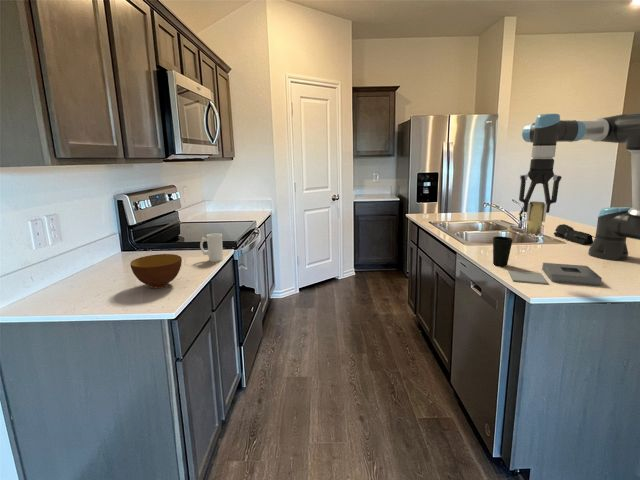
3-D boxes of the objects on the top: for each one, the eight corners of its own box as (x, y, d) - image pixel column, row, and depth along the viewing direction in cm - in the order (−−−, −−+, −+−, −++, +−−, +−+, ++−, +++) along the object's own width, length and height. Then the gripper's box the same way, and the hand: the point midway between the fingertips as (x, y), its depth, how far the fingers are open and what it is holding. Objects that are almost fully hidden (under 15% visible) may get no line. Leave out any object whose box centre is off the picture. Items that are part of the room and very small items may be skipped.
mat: (541, 274, 156) (541, 273, 156) (548, 284, 145) (548, 283, 145) (508, 272, 159) (508, 270, 159) (513, 281, 148) (513, 280, 148)
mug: (224, 257, 184) (222, 233, 181) (222, 261, 177) (221, 236, 174) (202, 258, 182) (200, 233, 180) (200, 262, 176) (198, 237, 173)
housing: (586, 272, 158) (587, 265, 157) (600, 285, 143) (601, 278, 142) (542, 269, 163) (542, 262, 162) (551, 281, 148) (552, 274, 147)
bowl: (122, 290, 141) (119, 264, 139) (158, 276, 157) (155, 252, 155) (160, 296, 135) (157, 269, 133) (193, 281, 151) (191, 256, 149)
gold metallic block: (538, 232, 149) (542, 201, 147) (541, 234, 145) (545, 203, 142) (525, 231, 151) (528, 201, 148) (527, 233, 146) (531, 202, 144)
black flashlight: (585, 247, 201) (587, 232, 199) (548, 236, 225) (551, 222, 223) (596, 247, 202) (599, 231, 200) (559, 235, 226) (561, 221, 224)
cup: (487, 262, 173) (489, 236, 170) (503, 262, 173) (506, 236, 171) (496, 267, 165) (499, 240, 162) (513, 267, 166) (516, 240, 163)
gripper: (567, 158, 142) (558, 220, 148) (514, 157, 148) (507, 218, 153) (573, 158, 135) (564, 223, 141) (517, 158, 141) (510, 221, 146)
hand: (534, 220), depth 147 cm, fingers closed on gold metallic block, 5 cm apart
